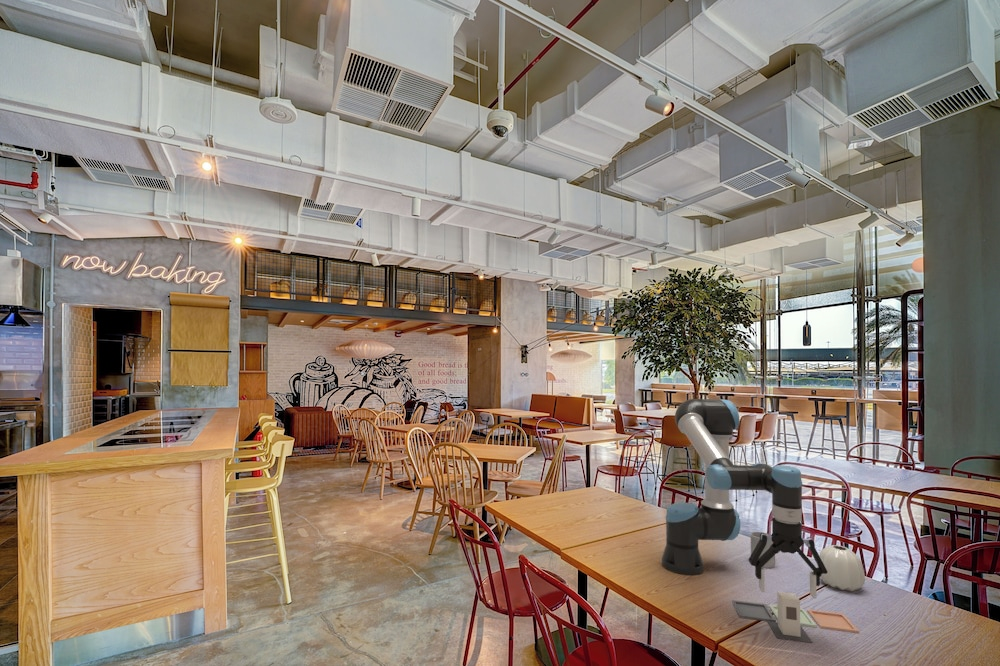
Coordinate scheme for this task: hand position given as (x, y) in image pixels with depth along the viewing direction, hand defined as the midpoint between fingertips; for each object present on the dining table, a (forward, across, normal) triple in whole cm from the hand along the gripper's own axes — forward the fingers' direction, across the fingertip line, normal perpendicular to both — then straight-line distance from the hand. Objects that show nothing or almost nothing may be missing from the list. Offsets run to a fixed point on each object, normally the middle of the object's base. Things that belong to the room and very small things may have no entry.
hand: (787, 593), depth 140 cm
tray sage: (+11, +4, +9) cm, 15 cm away
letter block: (+10, 0, -1) cm, 11 cm away
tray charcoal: (+12, -7, +9) cm, 16 cm away
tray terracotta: (+11, +15, +9) cm, 21 cm away
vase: (+12, +30, +39) cm, 50 cm away
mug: (+13, +9, +54) cm, 56 cm away
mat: (+11, 0, -1) cm, 11 cm away
